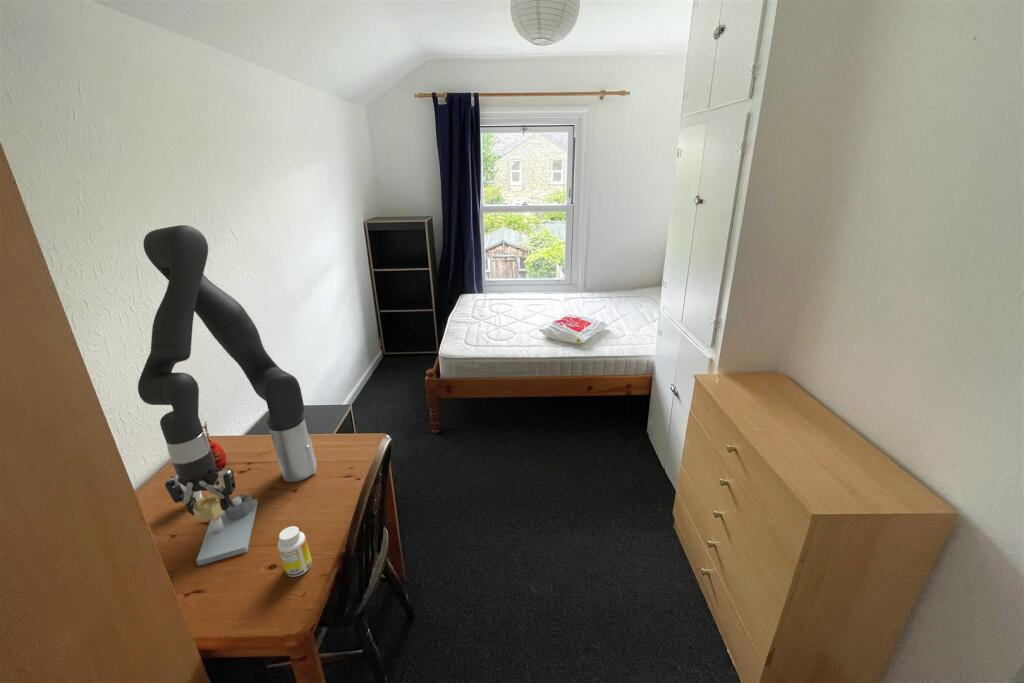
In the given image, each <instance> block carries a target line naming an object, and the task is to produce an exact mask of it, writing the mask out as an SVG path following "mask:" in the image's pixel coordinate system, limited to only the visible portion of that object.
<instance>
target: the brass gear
mask: <svg viewBox="0 0 1024 683" xmlns="http://www.w3.org/2000/svg"><path fill="white" fill-rule="evenodd" d="M219 499H220V498H219V497H218V496H217V495H216V494H212V493H211V494H207V495H204V496H202V498H201V499H200V500H198V501H197V502H195V504H194V507H193V512H194V514H195V515H194V516H195V519H196V520H197V521H200V522H202V523H204V522H207V521H211V520H212V519H215V518H217V517H218V516H220V515H221V514H222V513H224V512H225V511H223V509H222V506H221V503H220V500H219Z"/></svg>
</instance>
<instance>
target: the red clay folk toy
mask: <svg viewBox="0 0 1024 683" xmlns="http://www.w3.org/2000/svg"><path fill="white" fill-rule="evenodd" d="M204 422H205V423H204V424H203V426H202V428H203V429H204V430H205V432H206V433H205V435H206V437H207V439H208V442H209V445H210V448H211V451H212V454H213V457H214V460H215V466H216V468H217V469H218V470H219V471H222V469H223V468H224V467H225V466H226V464H227V462H228V461H227V456H226V453H225V451H224V449H223V448H222V447H221V445H220V444H218V443H217V442H215V441H212V440H211V439H210V436H209V435H210V433H209V432H208V424H207V421H204Z"/></svg>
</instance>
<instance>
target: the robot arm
mask: <svg viewBox="0 0 1024 683" xmlns="http://www.w3.org/2000/svg"><path fill="white" fill-rule="evenodd" d="M142 244H143V249H144V252H145V255H146V256H147V259H149V261H150V263H151V264H152V265H153V266H154V267H155V268H156V269H157V270H158V271H159V272H160V273H161V274H162V275H163V277H164V278H165V279H166V280H167V281H168V284H167V287H166V290H165V293H164V296H163V298H162V300H161V302H160V304H159V305H158V308H157V311H156V313H155V316H154V319H153V322H152V330H151V339H150V353H149V355H148V357H147V359H146V362H145V364H144V367H143V370H142V371H141V373H140V377H139V379H138V383H137V391H138V396H139V398H140V399H141V400H142V402H144V403H145V404H147V405H150V406H151V405H152V406H171V407H172V410H171V411H169V412H167V413H165V414H164V415H163V416H162V417H161V418H160V420H159V424H160V425H159V426H160V429H161V431H162V434H163V437H164V440H165V442H166V446H167V452H168V455H169V457H170V461H171V462H172V465H173V469H174V471H175V473H176V474H177V476H178V477H175V476H176V475H175V476H174V475H171V476H170V477H169V478H168V480H167V481H165V483H164V486H165V488H166V489H167V491H168V493H169V495H170V497H171V499H172V500H173V502H174V504H178V503H180V502H181V503H183V504H184V505H185V506H186V510H187V512H188V514H191V516H195V514H194V512H193V507H194V504H195V502H197V501H196V498H195V497H193V495H194V492H198V491H201V492H202V491H205V492H206V491H209V493H211V494H216V495H217V496H218V497H219V498H220V499H219V500H220V503H221V506H222V509H223V511H225V510H227V509H228V508H229V506H230V504H231V500H230V496H231V495H232V494H233V493H234V491H235V490H236V488H237V487H236V481H235V474H234V469H233V468H227V470H220V471H219V470H218V469H217V468H216V466H215V460H214V457H213V454H212V451H211V448H210V445H209V442H208V439H207V435H206V433H205V431H204V428H202V427H203V425H202V423H201V420H200V417H199V408H200V406H199V405H200V403H199V399H200V398H199V396H200V391H199V390H200V388H199V384H198V382H197V381H196V379H195V378H194V377H193V376H192V375H191V374H189V373H185V372H172V371H173V369H174V367H175V365H176V364H178V363H181V362H184V361H187V360H188V359H190V357H191V354H192V353H191V352H192V342H193V341H192V340H193V339H192V337H193V328H194V327H193V323H194V316H195V314H196V315H197V316H198V317H199V319H200V320H201V321H202V323H203V324H204V325H205V327H206V328H207V329H208V331H209V333H210V334H211V335H212V337H213V338H214V339H215V340H216V341H217V342H218V344H219V345H220V346H221V347H222V348H223V349H224V350H225V352H226V353H227V354H228V355H229V356H230V357H231V358H232V360H234V361H235V362H236V363H237V365H238V366H239V367H240V369H241V370H242V372H243V373H244V376H246V378H247V380H248V382H249V383H250V385H251V387H252V389H253V390H254V392H255V393H256V395H257V396H258V397H260V399H262V400H264V401H265V402H266V405H267V410H268V414H269V415H267V416H268V417H267V419H266V421H267V425H268V428H269V433H270V436H271V440H272V443H273V447H274V450H275V453H276V458H277V462H278V465H279V468H280V471H281V475H282V478H283V480H284V481H285V482H289V483H295V482H300V481H303V480H306V479H308V478H310V477H311V476H313V475H316V474H317V460H316V455H315V451H314V446H313V443H312V438H311V436H309V433H308V429H307V424H306V421H305V416H304V414H305V413H304V412H305V405H304V400H303V394H302V393H303V392H302V389H301V386H300V385H301V384H300V383H299V380H298V379H297V378H296V377H295V376H294V375H292V374H291V373H289V372H288V371H287V372H286V371H285V370H284V369H281V367H279V366H278V365H277V363H276V362H275V361H274V360H273V359H272V357H271V356H270V355H269V354H268V353H267V352H268V351H266V349H265V346H264V345H263V342H262V339H261V336H260V333H259V330H258V328H257V326H256V324H255V323H254V321H253V320H252V318H251V316H250V315H249V314H248V312H247V311H246V309H245V308H244V307H243V306H242V305H241V304H240V303H239V302H238V301H237V300H236V299H235V298H234V297H232V296H231V295H230V294H228V293H227V292H225V291H224V290H222V289H221V288H219V287H218V286H217V285H216V284H214V283H213V282H212V281H211V280H210V279H208V277H207V276H206V275H205V274H204V271H205V268H206V264H207V260H208V256H209V244H208V241H207V239H206V237H205V235H204V234H203V233H202V232H201V231H200V230H199V229H197V228H195V227H193V226H190V225H173V226H168V227H162V228H158V229H154V230H151V231H149V232H147V233H146V235H145V236H144V239H143V243H142ZM180 484H182V485H183V486H185V487H186V490H185V491H184V490H182V488H181V486H180Z"/></svg>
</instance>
